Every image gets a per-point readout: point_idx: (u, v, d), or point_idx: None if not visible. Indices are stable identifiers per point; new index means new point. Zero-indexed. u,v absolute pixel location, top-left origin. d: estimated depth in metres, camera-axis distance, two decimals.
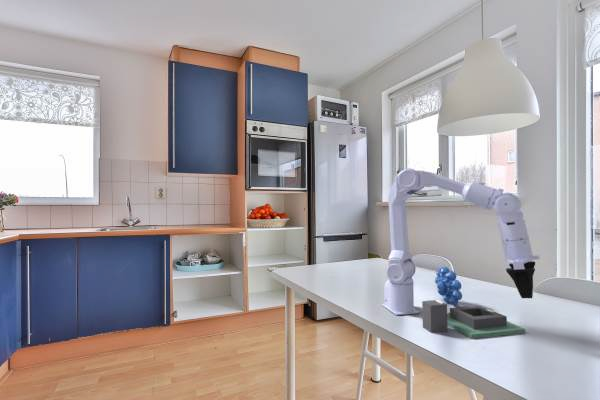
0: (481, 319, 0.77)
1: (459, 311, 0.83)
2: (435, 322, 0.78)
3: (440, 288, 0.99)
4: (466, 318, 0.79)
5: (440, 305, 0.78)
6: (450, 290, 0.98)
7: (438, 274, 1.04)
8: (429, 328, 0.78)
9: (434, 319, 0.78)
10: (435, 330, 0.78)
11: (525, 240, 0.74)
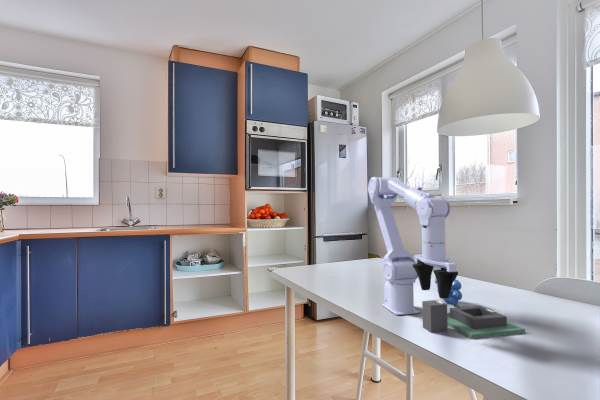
0: (481, 319, 0.77)
1: (459, 311, 0.83)
2: (435, 322, 0.78)
3: None
4: (466, 318, 0.79)
5: (440, 305, 0.78)
6: (450, 290, 0.98)
7: None
8: (429, 328, 0.78)
9: (434, 319, 0.78)
10: (435, 330, 0.78)
11: None
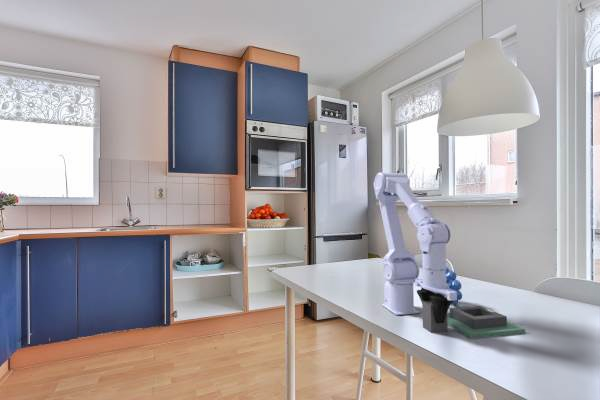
0: (481, 319, 0.77)
1: (459, 311, 0.83)
2: (435, 322, 0.78)
3: None
4: (466, 318, 0.79)
5: None
6: None
7: None
8: (429, 328, 0.78)
9: (434, 319, 0.78)
10: (435, 330, 0.78)
11: (445, 270, 0.79)
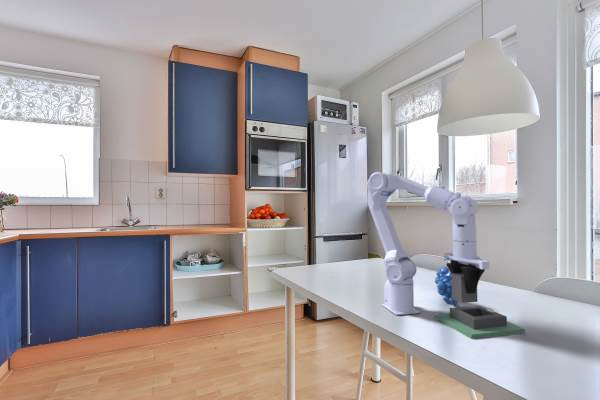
0: (481, 319, 0.77)
1: (459, 311, 0.83)
2: (465, 293, 0.80)
3: (440, 288, 0.99)
4: (466, 318, 0.79)
5: None
6: (450, 290, 0.98)
7: (438, 274, 1.04)
8: (459, 299, 0.80)
9: (465, 290, 0.80)
10: (465, 300, 0.80)
11: None
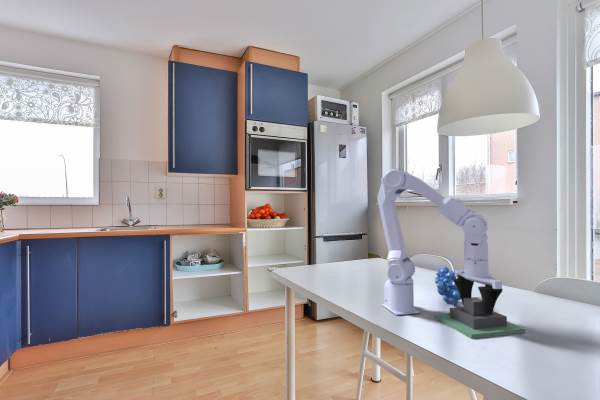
0: (481, 319, 0.77)
1: (459, 311, 0.83)
2: None
3: (440, 288, 0.99)
4: (466, 318, 0.79)
5: None
6: (450, 290, 0.98)
7: (438, 274, 1.04)
8: None
9: (477, 315, 0.80)
10: None
11: None
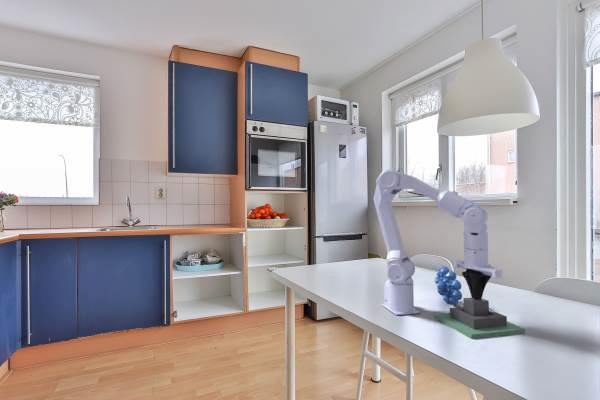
0: (481, 319, 0.77)
1: (459, 311, 0.83)
2: None
3: (440, 288, 0.99)
4: (466, 318, 0.79)
5: (482, 302, 0.81)
6: (450, 290, 0.98)
7: (438, 274, 1.04)
8: None
9: (477, 315, 0.80)
10: None
11: (487, 250, 0.81)
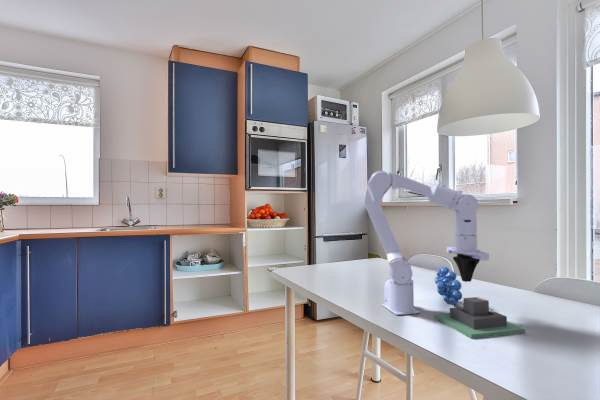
0: (481, 319, 0.77)
1: (459, 311, 0.83)
2: None
3: (440, 288, 0.99)
4: (466, 318, 0.79)
5: (482, 302, 0.81)
6: (450, 290, 0.98)
7: (438, 274, 1.04)
8: None
9: (477, 315, 0.80)
10: None
11: (476, 236, 0.88)
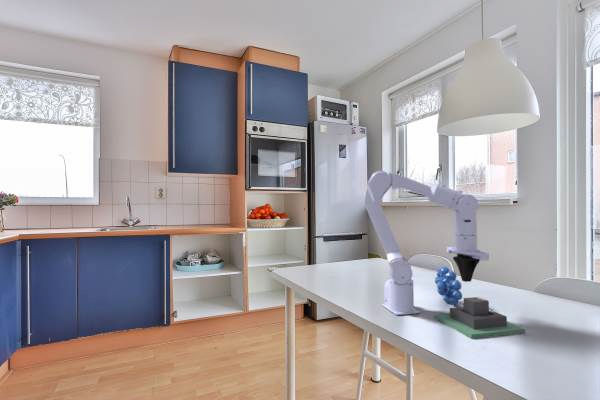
0: (481, 319, 0.77)
1: (459, 311, 0.83)
2: None
3: (440, 288, 0.99)
4: (466, 318, 0.79)
5: (482, 302, 0.81)
6: (450, 290, 0.98)
7: (438, 274, 1.04)
8: None
9: (477, 315, 0.80)
10: None
11: (476, 236, 0.88)
